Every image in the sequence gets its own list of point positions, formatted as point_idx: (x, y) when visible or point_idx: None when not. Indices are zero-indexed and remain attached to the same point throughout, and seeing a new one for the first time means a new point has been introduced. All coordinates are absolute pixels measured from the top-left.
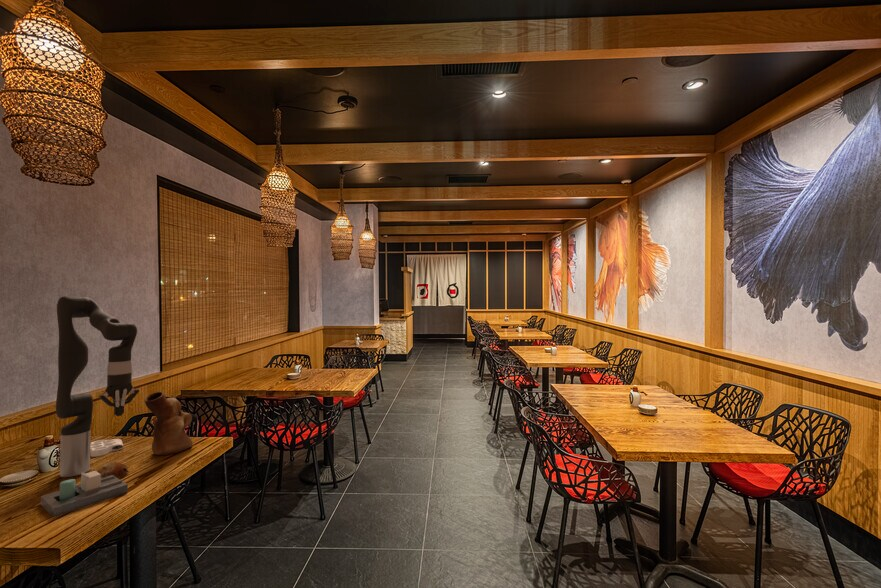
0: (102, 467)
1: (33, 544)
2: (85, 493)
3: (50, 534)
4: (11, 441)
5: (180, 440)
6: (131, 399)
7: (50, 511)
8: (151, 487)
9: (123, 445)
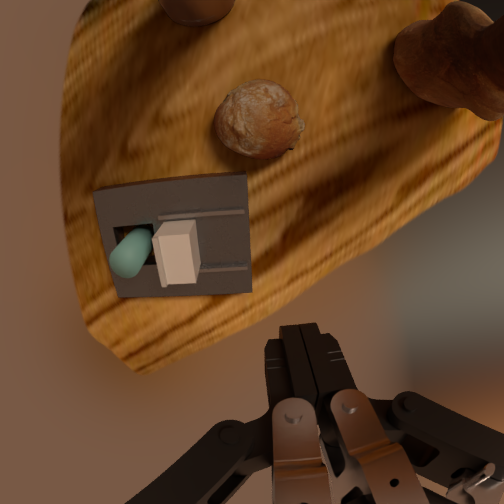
0: (232, 123)
1: (114, 352)
2: None
3: (128, 343)
4: None
5: (459, 106)
6: (414, 448)
7: None
8: (294, 295)
9: None
